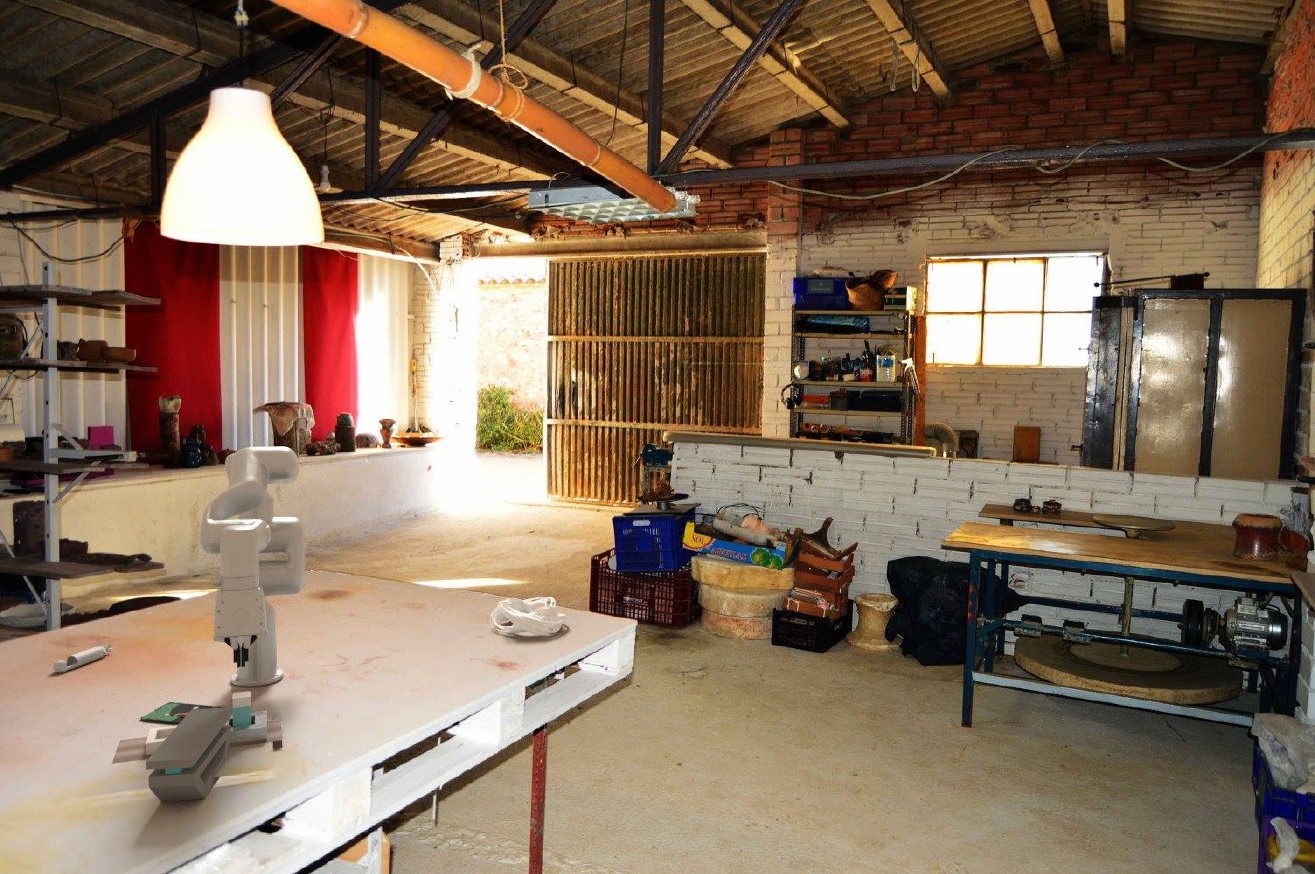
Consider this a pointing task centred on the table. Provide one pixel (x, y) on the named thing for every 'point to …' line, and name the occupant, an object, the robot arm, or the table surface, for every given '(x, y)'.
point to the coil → (528, 616)
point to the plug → (241, 708)
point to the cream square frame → (157, 738)
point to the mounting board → (137, 751)
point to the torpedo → (82, 658)
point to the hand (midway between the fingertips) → (241, 665)
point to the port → (249, 729)
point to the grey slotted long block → (191, 756)
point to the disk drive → (172, 713)
